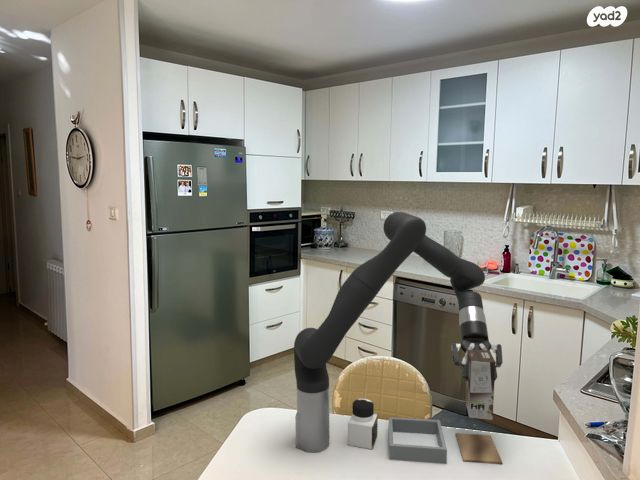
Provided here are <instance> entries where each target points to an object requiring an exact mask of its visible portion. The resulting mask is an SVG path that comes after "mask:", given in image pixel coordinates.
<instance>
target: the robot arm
mask: <svg viewBox="0 0 640 480" xmlns="http://www.w3.org/2000/svg"><path fill="white" fill-rule="evenodd" d="M382 229H383V232H384V235H385V236H386V238H387V239H388V240H389V242H388V243H387V245H386V246H385V247H384V248H383V250H381V251H380V252H379V253H378V254H376V255H375V256H373V257H371V258H370V259H368V260H366V261H365V262H364V263H362V264H360V265H358V266H357V267H356V268H355V269H354V270H353V271H352V272H351V273H350V275H349V276H348V277H347V278H346V279H345V281H344V282H343V283H342V285H341V286H340V288H339V289H338V291H337V294H336V296H335V299H334V300H333V304H332V306H331V308H330V311H329V312H328V315H327V317H326V318H324V319H325V320H324V321H323V322H322V323H321V325H320V326H318V328H315V327H307V328H304V329H302V330H301V331H299V333H297V335H296V337H295V339H294V343H293V356H294V357H293V361H294V362H293V363H294V364H293V365H294V375H295V381H296V413H295V417H294V418H295V448H297V449H301V450H302V451H304V452H309V453H318V452H321V451H325V450H326V449H328V447H329V445H330V377H329V373H328V368H327V363H329V361H330V360H331V359H332V357H333V355H334V354H335V352H336V351H337V349H338V347H339V346H340V344H341V342H342V341H343V339H344V338H345V336H346V335H347V333H348V331H349V330H350V329H351V328H352V327H353V326H354V324H355V323H356V321H358V319H359V318H360V317H361V315H362V314H363V313H364V311H365V310H366V309H367V308H368V306H370V304H371V303H372V301H373V300H374V299H375V297H376V296H377V295H378V294H379V292H380V291H381V289H382V288H383V287H384V285H385V284H386V283H387V282H388V281H389V279H390V278H391V277H392V276H393V274H394V273H395V272H396V271H397V270H398V268H399V267H400V266H401V265H402V264H403V263H404V262H405V260H407V259H408V258H409V257H410V255H411V254H412V253H414V254H417V255H418V256H419V257H420V258H422V260H424V261H425V262H426V263H428V264H429V265H431V266H432V267H433V268H434V269H435V270H437V271H438V272H440V274H442V275H444V277H447V278H450V279H449V282H450V285H451V287H452V289H453V291H454V294H455V296H456V299H457V302H458V303H457V305H458V310H459V313H458V314H459V317H458V318H459V322H458V323H459V331H460V338H461V339H460V340H461V341H460V343H457V342H452V343H451V346H450V349H451V350H450V351H451V354H452V355H451V356H452V361H453V365H454V366H458V367H460V370H461V371H460V372H461V378H462V379H464V381H465V382H466V381H467V380H468V370H467V365H466V363H467V349H469V350H490V351H491V350H492V351H493V353H494V354H495V362H496V363H495V381H496V380H497V379H498V371H497V368H501V367H502V365H503V351H502V350H503V347H502V345H501V344H500V343H498V344H496V345H495V344H491V342H490V340H489V333H488V332H489V331H488V327H487V320H486V315H485V312H484V311H485V310H484V305H483V298H482V296H481V294H480V293H479V292H477V291H475V290H473V289H475V288H477V287H480V286H482V285H483V284H484V283H485V280H486V275H485V272H484V270H483V269H482V267H481V266H479V265H478V264H476V263H474V262H472V261H469V260H467V259H464V258H460V257H459V256H458V255H456V254H455V253H454V252H452V250H450V249H449V248H447V247H445V246H444V245H442V244H441V243H439V242H437V241H436V240H434V239H432V238H431V237H429V236H427V235H426V232H427V225H426V222H425V221H424V220H423V219H422V218H421V217H418V216H416V215H413V214H410V213H407V212H403V211H396V212H392V213H390V214H389V215H388V216H387V217H386V218H385V220H384V223H383V228H382ZM460 349H461V350H462V352H463V353H464V356H463V358H462V359H460V358H459V351H460ZM495 381H494V383H495Z"/></svg>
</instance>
